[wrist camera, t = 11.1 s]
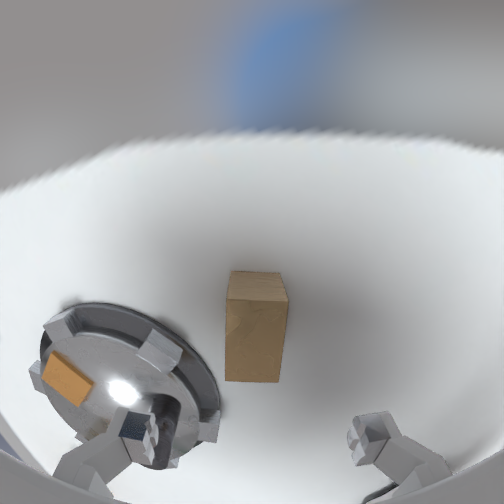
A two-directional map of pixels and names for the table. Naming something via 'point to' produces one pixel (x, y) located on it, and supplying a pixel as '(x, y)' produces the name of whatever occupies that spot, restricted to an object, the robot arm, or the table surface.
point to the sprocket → (121, 385)
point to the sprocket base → (140, 329)
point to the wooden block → (255, 326)
